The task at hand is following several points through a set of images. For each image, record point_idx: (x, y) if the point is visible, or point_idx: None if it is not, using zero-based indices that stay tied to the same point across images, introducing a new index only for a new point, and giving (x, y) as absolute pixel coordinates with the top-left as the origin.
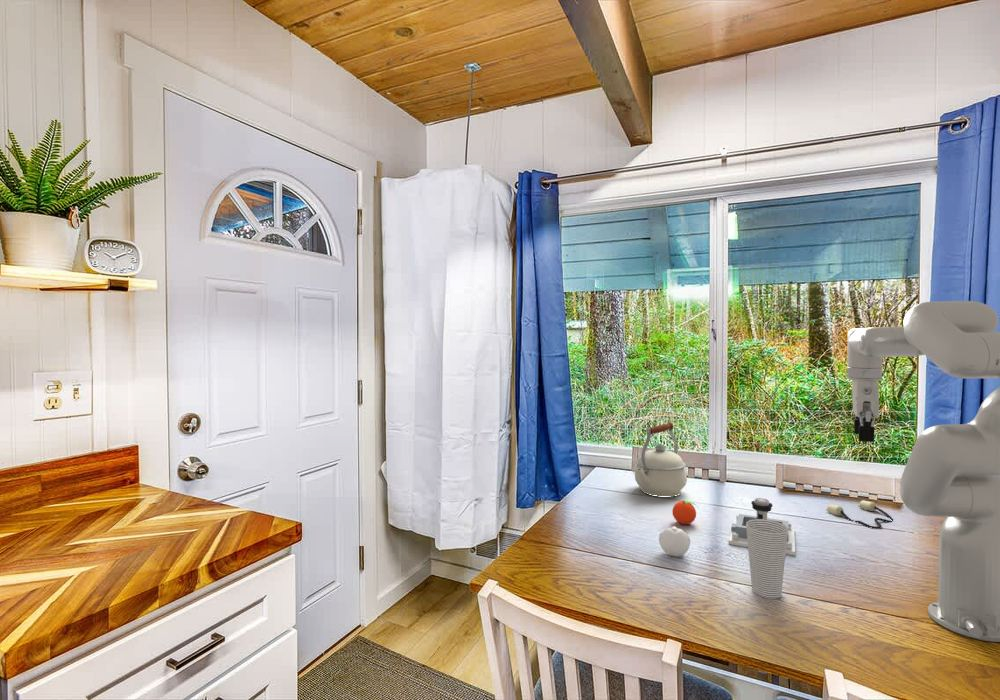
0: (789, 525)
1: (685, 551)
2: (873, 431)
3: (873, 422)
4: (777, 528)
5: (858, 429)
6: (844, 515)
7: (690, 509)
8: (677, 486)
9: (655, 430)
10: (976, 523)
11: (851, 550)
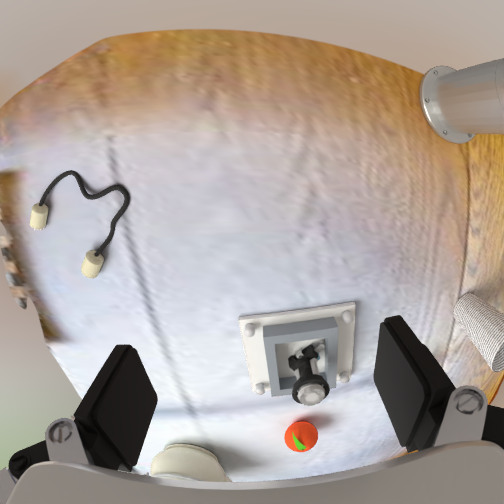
0: (253, 329)
1: None
2: (430, 361)
3: (484, 413)
4: (497, 341)
5: (145, 407)
6: (104, 248)
7: (311, 437)
8: (202, 458)
9: None
10: None
11: (279, 226)
